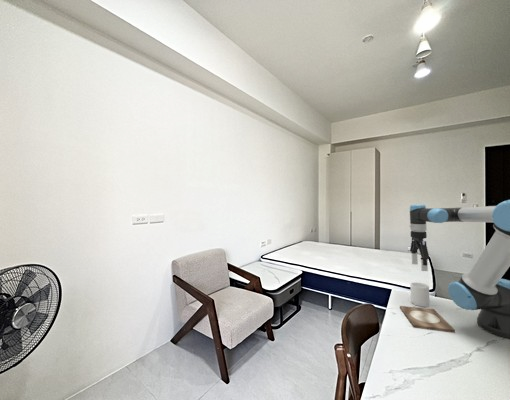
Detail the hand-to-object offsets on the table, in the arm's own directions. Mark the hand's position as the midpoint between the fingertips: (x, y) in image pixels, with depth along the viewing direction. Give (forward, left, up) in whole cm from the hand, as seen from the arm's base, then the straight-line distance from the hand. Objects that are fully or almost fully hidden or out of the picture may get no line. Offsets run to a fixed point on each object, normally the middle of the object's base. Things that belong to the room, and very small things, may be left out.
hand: (419, 267), depth 129 cm
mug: (0, 0, -21) cm, 21 cm away
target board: (+5, +20, -20) cm, 29 cm away
